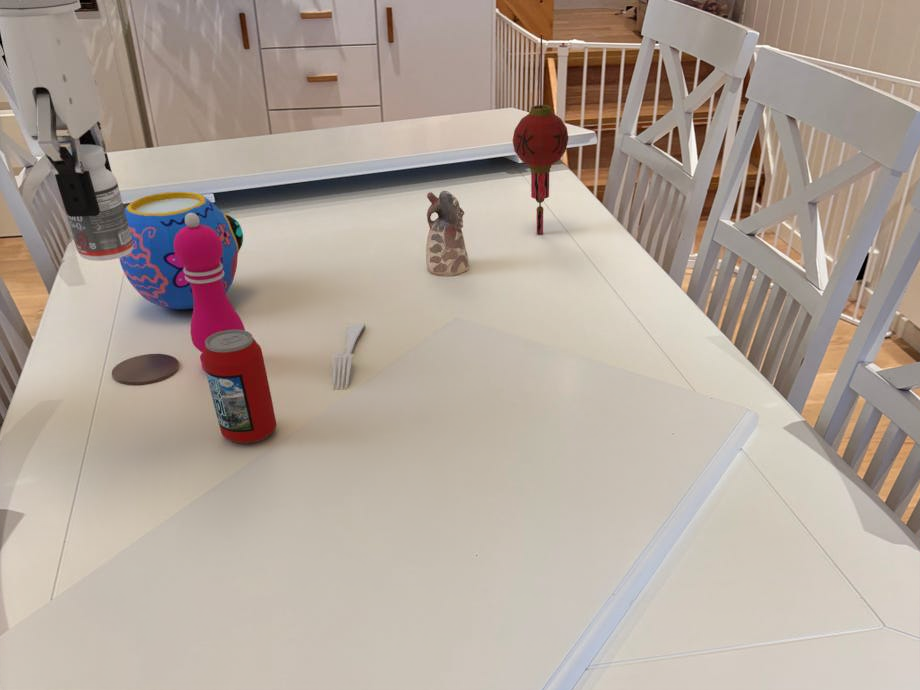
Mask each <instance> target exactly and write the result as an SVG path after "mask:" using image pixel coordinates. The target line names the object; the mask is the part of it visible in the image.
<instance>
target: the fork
mask: <svg viewBox="0 0 920 690" xmlns="http://www.w3.org/2000/svg"><path fill="white" fill-rule="evenodd" d="M364 327H365V323H350V324H348V325H347V327H346V346H345V351H344V353H341V354H334V355H332V386H333V387H332V390H333V391H334V390H335V387H336V386H335V385H336V376H337V391H338V390H339V389H340V381H341V390H343V389H344V383H345V390H348V385H349V379H350V375H351V374H350V373H351V369H352V363H353V358H354V356H355V355H356V354H355V353H352V352H353V348H354V346H355V343H356V342H357V339H358V337H359V336H360V335H361V332H362V331H363V329H364ZM336 374H337V375H336ZM345 375H346V376H345ZM344 381H345V382H344Z"/></svg>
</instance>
